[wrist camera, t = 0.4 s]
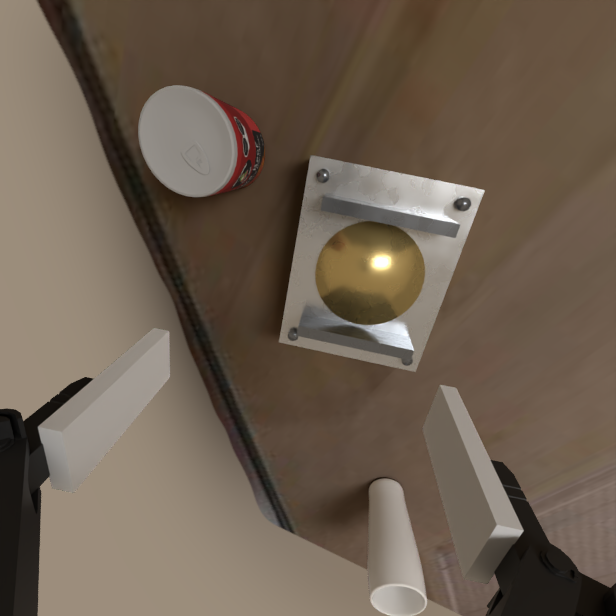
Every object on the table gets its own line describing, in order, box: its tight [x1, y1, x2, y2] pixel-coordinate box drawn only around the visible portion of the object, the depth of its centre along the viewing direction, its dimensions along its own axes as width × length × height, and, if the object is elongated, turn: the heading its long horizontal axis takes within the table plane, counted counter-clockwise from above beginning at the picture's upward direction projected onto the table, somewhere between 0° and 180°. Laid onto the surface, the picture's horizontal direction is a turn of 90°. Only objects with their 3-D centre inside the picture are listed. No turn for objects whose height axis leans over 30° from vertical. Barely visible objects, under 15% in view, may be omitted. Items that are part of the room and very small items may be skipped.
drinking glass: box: [367, 478, 427, 616], centre depth 46 cm, size 7×7×15 cm
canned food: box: [138, 85, 265, 197], centre depth 31 cm, size 8×8×11 cm
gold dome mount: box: [279, 155, 485, 372], centre depth 35 cm, size 20×16×8 cm
